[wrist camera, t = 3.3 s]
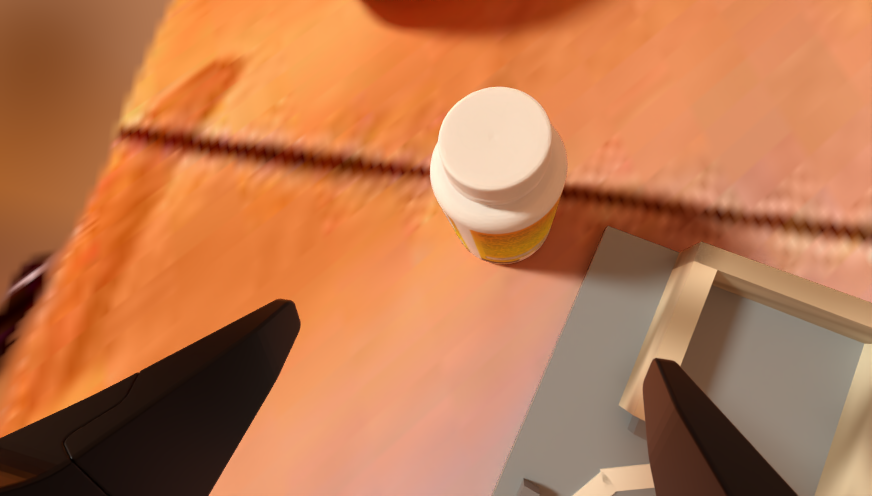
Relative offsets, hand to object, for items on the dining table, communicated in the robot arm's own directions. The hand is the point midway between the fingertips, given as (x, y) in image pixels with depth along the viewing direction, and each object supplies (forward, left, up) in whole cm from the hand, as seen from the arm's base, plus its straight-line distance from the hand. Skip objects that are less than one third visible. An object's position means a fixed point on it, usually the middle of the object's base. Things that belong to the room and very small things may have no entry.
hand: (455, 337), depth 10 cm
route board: (-1, -11, -13) cm, 16 cm away
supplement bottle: (+7, +2, -13) cm, 15 cm away
